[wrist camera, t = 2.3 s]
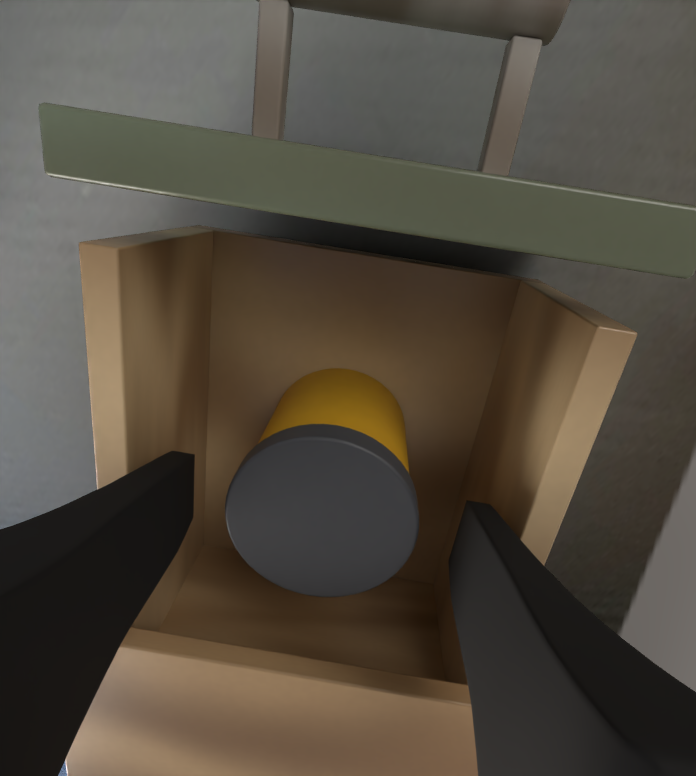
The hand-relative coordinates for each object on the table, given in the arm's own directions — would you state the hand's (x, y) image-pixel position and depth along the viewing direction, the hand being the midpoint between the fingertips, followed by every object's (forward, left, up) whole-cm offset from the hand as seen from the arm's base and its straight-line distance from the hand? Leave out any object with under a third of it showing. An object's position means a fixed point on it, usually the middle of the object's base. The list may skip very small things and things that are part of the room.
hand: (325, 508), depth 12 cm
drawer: (-3, 0, -6) cm, 6 cm away
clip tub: (0, 0, -5) cm, 5 cm away
